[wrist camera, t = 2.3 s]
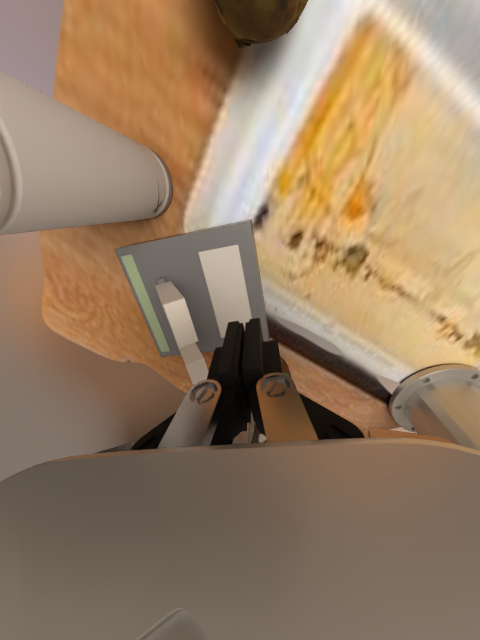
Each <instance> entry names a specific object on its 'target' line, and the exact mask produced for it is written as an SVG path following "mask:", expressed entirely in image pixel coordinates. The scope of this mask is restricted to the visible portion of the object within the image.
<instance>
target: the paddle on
mask: <svg viewBox="0 0 480 640" xmlns="http://www.w3.org/2000/svg"><path fill="white" fill-rule="evenodd" d="M156 281H157V283H158V285H155V288H156V290H157V293H158V296H159V298H160V301H161V304H162V306H163V309H164V311H165V314H166V317H167V319H168V322H169V324H170V327H171V329H172V332H173V334H174V336H175V339H176V341H177V344H178V346H179V348H182V347H184V346H187V345H189V344H192V343H194V342H197V341H198V338H197V335H196V332H195V329H194V326H193V323H192V320H191V317H190V314H189V311H188V308H187V304H186V301H185V298H184V297H183V296H182V294H181V293H180V292H179V291H178V290H177V288H176V287H175V286H174V285H173V283H172V282H171V281H169V282H166V279H165V277H162V278H159V279H157V280H156Z"/></svg>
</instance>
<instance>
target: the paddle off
mask: <svg viewBox="0 0 480 640" xmlns="http://www.w3.org/2000/svg"><path fill="white" fill-rule="evenodd" d="M173 335H174V334H173ZM174 338H175V336H174ZM175 340H176V339H175ZM176 343H177V341H176ZM177 345H178V344H177ZM178 348H179V346H178ZM179 351H180V353H181V356H182V359H183V361H184V364H185V366H186V369H187V371H188V374H189V376H190V379H191V381H192V384H193V385H194V384H196V383H198V382H200V381H203V380H207V376H208V373H209V372H208V369H207V366H206V363H205V359H204V357H203V355H202V353H201V352H200V350H199V348H198V347H197V345H196V343H195V342H194V343H192V344H189V345H187V346H184V347H182V348H179Z"/></svg>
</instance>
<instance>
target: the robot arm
mask: <svg viewBox="0 0 480 640" xmlns="http://www.w3.org/2000/svg"><path fill="white" fill-rule="evenodd" d="M389 410H390V413H391V415H392V417H393V418H394V420H395V421H396V422H397V423H398V424H399V425H400V426H401V427H403V428H404V429H406V430H409V431H412V432H416V433H417V434H415V433H406V432H399V431H392V430H385V429H377V428H370V427H369V430H368V431H367V430H360V429H359V428H358V427H357V426H355V425H354V424H352V423H351V422H349V421H347V420H346V419H344V418H342V417H340V416H339V415H337V414H335V413H333V412H332V411H330V410H328V409H326V408H324V407H323V406H321V405H319V404H317V403H316V402H314V401H312V400H310V399H309V398H307V397H305V396H303V395H302V394H300V393H298V391H297V389H296V386H295V384H294V382H293V380H292V379H291V378H290V377H289V376H288V375H286V374H283V373H282V367H281V361H280V354H279V348H278V341H277V340H272V341H264V339H263V334H262V328H261V322H260V318H254V319H249V322H246V324H245V329H244V325H243V323H239V321H233V322H228V325H227V329H226V333H225V338H224V342H223V346H222V347H217V348H215V351H214V355H213V358H212V362H211V366H210V369H209V373H208V376H207V380H203V381H200V382H198V383H196V384H194V385H193V386H192V387H191V388H190V389H189V391H188V392H187V394H186V396H185V398H184V399H183V401H182V403H181V405H180V407H179V409H178V411H177V412H176V413H174V414H173V415H172V416H170V417H169V418H167V419H166V420H165V421H163V422H162V423H161V424H159V425H158V426H157V427H155V428H154V429H152V430H151V431H150V432H148V433H147V434H146V435H144V436H143V437H142V438H140V439H139V440H138V441H137V442H136V443H135V445H133V443H128V444H125V445H121V446H118V447H114V448H111V449H107V450H104V451H101V452H97V453H93V454H85V455H77V456H69V457H65V458H60V459H55V460H51V461H47V462H44V463H41V464H37V465H35V466H32V467H30V468H27V469H25V470H23V471H20V472H18V473H16V474H14V475H12V476H10V477H8V478H6V479H4V480H2V481H1V482H0V640H480V370H479V369H476V368H474V367H471V366H466V365H458V364H450V365H441V366H436V367H431V368H428V369H425V370H422V371H420V372H418V373H416V374H414V375H412V376H410V377H409V378H407V379H406V380H404V381H403V382H402V383H401V384H400V385H399V386H398V387H397V388H396V390H395V391H394V392H393V394H392V396H391V398H390V402H389ZM251 411H252V415H253V419H254V422H256V426H257V430H258V431H260V432H261V433H262V434H263V435H264V436H265V437H266V439H267V442H266V443H248V444H237V435H238V434H239V433H240V432H241V431H247V423H251Z"/></svg>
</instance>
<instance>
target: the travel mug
mask: <svg viewBox="0 0 480 640" xmlns="http://www.w3.org/2000/svg"><path fill="white" fill-rule="evenodd" d="M172 192H173V186H172V179H171V175H170V173H169V170H168V168H167V166H166V165H165V163H164V161H163V160H162V159H161V158H160V157H159V155H157V154H156V153H155V152H154V151H153V150H151V149H149V148H147V147H145V146H143V145H141V144H139V143H137V142H136V141H134V140H132V139H130V138H128V137H126V136H124V135H122V134H120V133H118V132H116V131H114V130H112V129H111V128H109V127H107V126H105V125H103V124H101V123H99V122H97V121H95V120H93V119H91V118H89V117H87V116H86V115H84V114H82V113H80V112H78V111H76V110H74V109H72V108H70V107H68V106H66V105H64V104H62V103H61V102H59V101H57V100H55V99H53V98H51V97H49V96H47V95H45V94H43V93H41V92H39V91H37V90H36V89H34V88H32V87H30V86H28V85H26V84H24V83H22V82H20V81H18V80H16V79H14V78H12V77H11V76H9V75H7V74H5V73H3V72H1V71H0V235H5V234H15V233H23V232H33V231H42V230H52V229H61V228H70V227H79V226H88V225H98V224H107V223H116V222H125V221H134V220H143V219H151V218H156V217H158V216H160V215H161V214H163V213H164V212H165V211H166V209H167V208H168V206H169V204H170V202H171V199H172Z"/></svg>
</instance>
